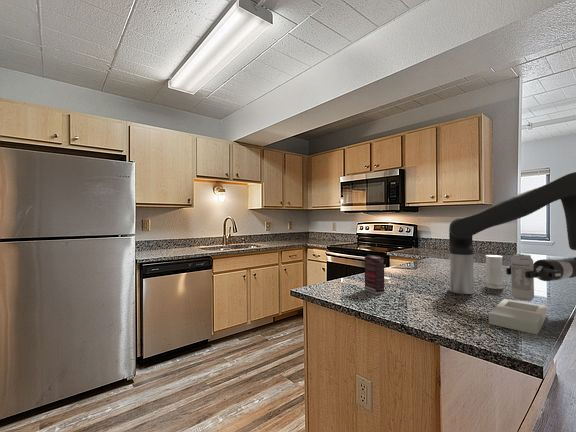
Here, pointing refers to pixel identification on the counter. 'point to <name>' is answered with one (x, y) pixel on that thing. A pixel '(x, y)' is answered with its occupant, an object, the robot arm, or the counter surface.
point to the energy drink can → (522, 277)
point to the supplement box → (374, 274)
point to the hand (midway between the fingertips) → (516, 273)
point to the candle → (494, 271)
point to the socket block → (518, 316)
